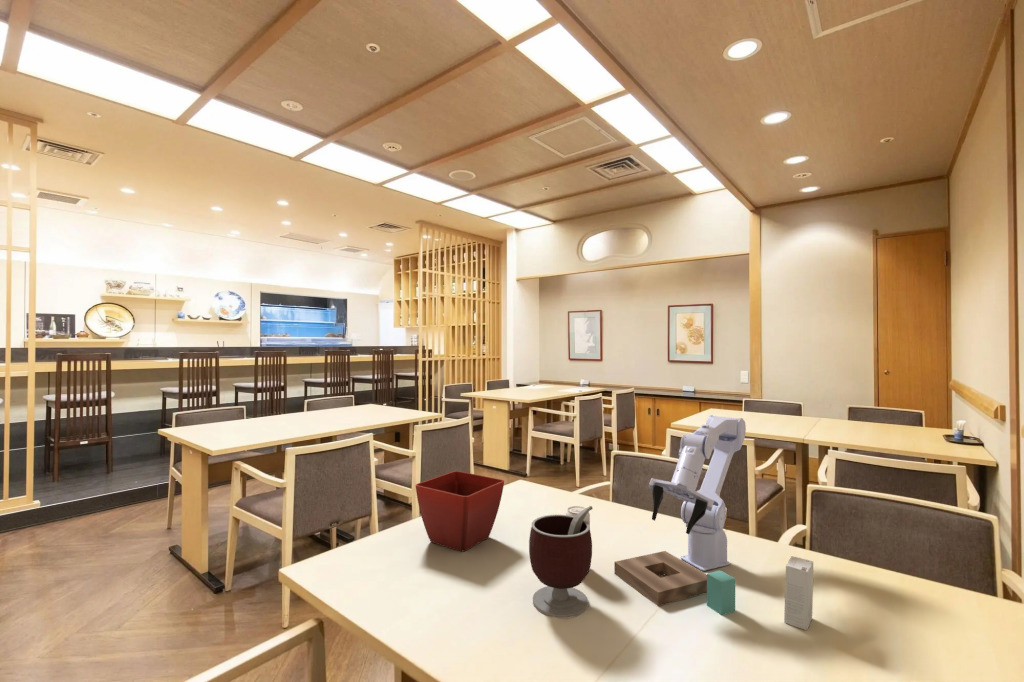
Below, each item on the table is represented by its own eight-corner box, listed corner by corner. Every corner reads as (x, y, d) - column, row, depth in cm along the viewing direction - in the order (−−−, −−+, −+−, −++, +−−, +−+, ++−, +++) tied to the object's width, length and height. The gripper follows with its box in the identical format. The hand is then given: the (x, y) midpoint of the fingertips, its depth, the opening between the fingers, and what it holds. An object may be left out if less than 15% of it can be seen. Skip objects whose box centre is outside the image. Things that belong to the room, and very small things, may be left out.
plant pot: (505, 536, 142) (505, 479, 143) (466, 560, 126) (466, 496, 126) (455, 522, 153) (455, 470, 153) (413, 543, 137) (413, 484, 137)
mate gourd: (550, 627, 97) (550, 527, 97) (517, 595, 109) (518, 507, 109) (611, 607, 104) (611, 515, 104) (574, 579, 116) (574, 497, 116)
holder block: (665, 562, 125) (665, 550, 125) (713, 591, 111) (713, 578, 111) (614, 573, 119) (614, 561, 119) (658, 606, 104) (658, 592, 104)
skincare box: (789, 610, 103) (789, 554, 103) (813, 618, 100) (813, 560, 100) (783, 623, 98) (783, 564, 98) (808, 632, 95) (808, 571, 95)
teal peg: (720, 601, 106) (720, 570, 106) (735, 611, 103) (735, 578, 103) (706, 605, 105) (706, 573, 105) (721, 615, 101) (721, 582, 101)
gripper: (657, 456, 117) (639, 504, 109) (720, 477, 110) (705, 530, 103) (656, 471, 122) (638, 518, 114) (716, 492, 115) (702, 544, 107)
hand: (670, 524), depth 109 cm, fingers open, 7 cm apart
